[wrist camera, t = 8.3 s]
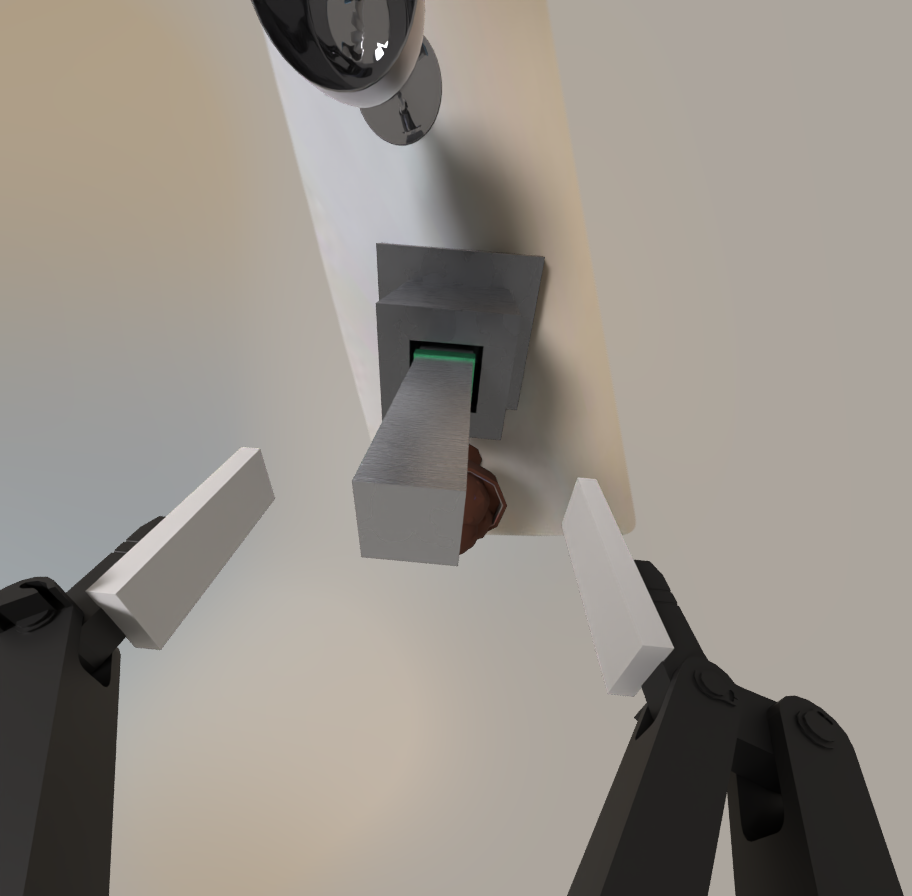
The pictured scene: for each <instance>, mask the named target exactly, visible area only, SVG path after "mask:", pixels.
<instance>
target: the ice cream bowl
mask: <svg viewBox="0 0 912 896" xmlns="http://www.w3.org/2000/svg"><path fill="white" fill-rule="evenodd" d="M481 460H482V458H481V456H480V454H479V451H478V449H476V448H475V447H473V446H471V445H470V444H469V447H468V466H467V486H466V498H465V507H464V516H463V525H462V534H461V543H460V552H459V555H460V554H463V553H464V552H466V551H467V550H468V549H470V548H471V547H473V546H474V544H475V543H476V541H477V539H479V538H483V537H484V535H485V534H486V533H487V531H489V530H491V529H493V528H495V527H497V526H498V524H499V522H500V520H501V518H502V515H503V513H504V511H505V509H506V507H507V504H506V502H505V499H504V497H503V494H502V492H501V489H500V487H499V484H498V482H497V479H496V477H495V476H494V475H493V474H492V473H491V472H490V471H488V470H486V469H485V468H483V467H481V466H479V465H480V463H481Z"/></svg>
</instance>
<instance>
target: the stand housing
mask: <svg viewBox="0 0 912 896" xmlns="http://www.w3.org/2000/svg"><path fill="white" fill-rule="evenodd" d="M376 248H377V268H378V287H379V301H378V302H377V303H376V315H377V333H378V351H379V369H380V387H381V405H382V421H383V419H384V417H385V415H386V414H387V412H388V410H389V408H390V406H391V404H392V402H393V400H394V398H395V396H396V394H397V392H398V390H399V388H400V386H401V384H402V382H403V380H404V378H405V376H406V374H407V373H408V371H409V369H410V367H411V365H412V363H413V361H414V352H415V351H416V349H420V347H421V345H422V343H423V341H429V342H441V343H452V344H464V345H474V350H473V354H475V367H474V377H473V387H472V396H471V408H470V428H469V437H472V438H484V439H495V440H501V435H502V429H503V423H504V417H505V411H506V409H512V410H517V406H518V401H519V395H520V390H521V384H522V379H523V373H524V368H525V363H526V357H527V352H528V346H529V341H530V335H531V330H532V325H533V319H534V314H535V308H536V303H537V297H538V292H539V287H540V281H541V276H542V270H543V265H544V259H545V257H543V256H534V255H522V254H509V253H497V252H485V251H473V250H461V249H449V248H437V247H424V246H412V245H400V244H388V243H376Z"/></svg>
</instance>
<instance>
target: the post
mask: <svg viewBox="0 0 912 896" xmlns="http://www.w3.org/2000/svg"><path fill="white" fill-rule="evenodd" d="M473 350H474V345H464V344H452V343H441V342H429V341H423V343H422V345H421V347H420V349H416V351H415V352H414V361H413V363H412V365H411V367H410V369H409V371H408V373H407V374H406V376H405V378H404V380H403V382H402V384H401V386H400V388H399V390H398V392H397V394H396V396H395V398H394V400H393V402H392V404H391V406H390V408H389V410H388V412H387V414H386V415H385V417H384V419H383V421H382V423H381V425H380V427H379V429H378V431H377V433H376V435H375V437H374V439H373V441H372V443H371V445H370V447H369V449H368V451H367V453H366V455H365V457H364V458H363V461H362V462H361V465H360V466H359V468H358V470H357V472H356V474H355V476H354V478H353V480H352V485H353V494H354V502H355V509H356V517H357V525H358V533H359V541H360V549H361V557H366V558H376V559H387V560H397V561H408V562H420V563H429V564H440V565H450V566H458V561H459V552H460V543H461V534H462V525H463V516H464V507H465V498H466V486H467V466H468V447H469V428H470V408H471V396H472V387H473V377H474V367H475V354H473Z"/></svg>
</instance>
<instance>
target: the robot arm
mask: <svg viewBox="0 0 912 896" xmlns="http://www.w3.org/2000/svg"><path fill="white" fill-rule="evenodd" d="M274 499H275V497H274V493H273V490H272V487H271V483H270V480H269V477H268V473H267V470H266V467H265V463H264V460H263V457H262V453H261V450H260V449H258V448H248V447H241V448H240V449H239V450H238V451H237V452H236V453H235V454H234V455H233V456H231V457H230V458H229V459H228V460H227V461H226V462H225V463H224V464H223V465H222V466H221V467H219V468H218V469H217V470H216V471H215V472H214V473H213V474H212V475H211V476H210V477H209V478H208V479H206V480H205V481H204V482H203V483H202V484H201V485H200V486H199V487H198V488H197V489H196V490H195V491H193V492H192V493H191V494H190V495H189V496H188V497H187V498H186V499H185V500H184V501H183V502H182V503H181V504H179V505H178V506H177V507H176V508H175V509H174V510H173V511H172V512H171V513H170V514H169V515H167V516H166V517H162V516H159V517H157V518H155V519H154V520H152V521H150V522H148V523H147V524H145V525H143V526H141V527H140V528H139V529H138V530H137V531H136V532H134V533H133V534H132V535H131V536H130V537H129V538H128V539H127V540H126V542H123V543H122V544H121V545H120V546H118V547H117V549H115V551H114V553H111V554H110V555H108V556H107V557H106V558H105V559H104V560H103V561H102V562H100V563H99V564H98V565H97V566H96V567H95V568H94V569H92V570H91V571H90V572H89V573H88V574H87V575H86V576H85V577H83V578H82V579H81V580H80V581H79V582H78V583H77V584H75V585H74V586H73V587H72V588H71V589H70V590H69V591H68V592H66V593H65V592H64V591H63V590H62V588H61V587H60V586H59V585H58V584H57V583H56V582H55V581H54V580H52V579H50V578H48V577H34V578H30V579H25V580H22V581H19V582H17V583H14V584H12V585H10V586H7V587H5V588H4V589H2V590H0V896H109V883H110V882H109V880H110V862H111V842H112V841H111V840H112V820H113V799H114V781H115V760H116V739H117V719H118V699H119V679H120V678H119V677H120V658H121V655H120V651H119V649H118V648H117V646H118V645H119V644H120V643H121V642H122V641H123V639H124V638H125V637H126V638H127V639H128V640H129V641H130V642H131V643H132V644H133V646H134V647H136V648H146V649H156V650H161V649H162V648H163V646H164V645H165V644H166V642H167V641H168V640H169V638H170V637H171V636H172V634H173V633H174V632H175V630H176V629H177V628H178V626H179V625H180V624H181V622H182V621H183V620H184V619H185V617H186V616H187V615H188V613H189V612H190V611H191V609H192V608H193V607H194V605H195V604H196V603H197V601H198V600H199V599H200V597H201V596H202V595H203V593H204V592H205V591H206V589H207V588H208V587H209V585H210V584H211V583H212V581H213V580H214V579H215V578H216V576H217V575H218V574H219V572H220V571H221V570H222V568H223V567H224V566H225V564H226V563H227V562H228V560H229V559H230V557H231V556H232V555H233V554H234V552H235V551H236V550H237V548H238V547H239V546H240V544H241V543H242V542H243V541H244V539H245V538H246V537H247V535H248V534H249V532H250V531H251V530H252V529H253V527H254V526H255V524H256V523H257V522H258V521H259V519H260V518H261V517H262V515H263V514H264V513H265V511H266V510H267V509H268V507H269V506H270V505H271V503H272V502H273V501H274ZM562 529H563V533H564V536H565V540H566V544H567V547H568V551H569V554H570V558H571V562H572V566H573V569H574V573H575V577H576V580H577V584H578V588H579V592H580V595H581V599H582V602H583V606H584V610H585V613H586V617H587V621H588V624H589V628H590V632H591V635H592V639H593V643H594V647H595V650H596V654H597V658H598V661H599V665H600V668H601V672H602V676H603V680H604V683H605V687H606V690H607V694H611V695H622V696H632V697H634V696H635V695H636V694H637V692H638V691H639V690H640V689H641V688H642V690H643V693H644V695H645V698H646V701H647V703H646V704H645V705H644V706H643V708H642V709H641V710H640V711H639V712H638V713H637V715H636V716H635V717H634V718H635V719H636V720H637V721H638V722H637V724H636V727H635V729H634V732H633V734H632V737H631V739H630V742H629V744H628V747H627V749H626V752H625V754H624V757H623V759H622V761H621V764H620V766H619V769H618V772H617V774H616V776H615V779H614V781H613V784H612V786H611V789H610V791H609V794H608V796H607V798H606V801H605V804H604V806H603V809H602V811H601V813H600V816H599V818H598V821H597V823H596V826H595V828H594V831H593V833H592V836H591V838H590V841H589V843H588V846H587V848H586V850H585V853H584V856H583V858H582V860H581V863H580V865H579V868H578V870H577V873H576V875H575V878H574V880H573V883H572V885H571V887H570V890H569V892H568V895H567V896H708V891H709V886H710V880H711V875H712V869H713V864H714V859H715V853H716V848H717V842H718V837H719V831H720V826H721V821H722V816H723V810H724V804H725V799H726V794H728V807H729V819H730V831H731V844H732V857H733V869H734V881H735V894H736V896H904V895H903V892H902V889H901V886H900V883H899V881H898V878H897V875H896V872H895V869H894V866H893V863H892V861H891V857H890V854H889V851H888V848H887V845H886V842H885V839H884V836H883V833H882V830H881V827H880V824H879V821H878V818H877V816H876V813H875V810H874V807H873V804H872V801H871V798H870V795H869V792H868V789H867V786H866V783H865V780H864V777H863V774H862V771H861V768H860V765H859V762H858V759H857V756H856V753H855V751H854V748H853V746H852V744H851V742H850V740H849V738H848V736H847V734H846V733H845V732H844V730H843V729H842V728H841V727H840V726H839V725H838V723H837V722H836V721H835V720H834V719H833V718H832V717H831V716H829V715H828V714H827V713H826V712H825V711H824V710H823V709H822V708H820V707H818V706H816V705H815V704H814V703H812V702H810V701H808V700H806V699H803V698H800V697H798V696H786V697H784V698H783V699H781V700H780V701H779V702H775V701H773V700H771V699H768V698H766V697H763V696H761V695H758V694H756V693H754V692H751V691H749V690H746V689H744V688H742V687H740V686H738V685H736V684H735V683H734V682H733V681H732V679H731V678H730V677H729V676H728V674H726V673H725V672H724V671H723V670H722V669H720V668H719V667H718V666H717V665H716V664H714V663H712V662H710V661H708V659H707V658H706V656H705V654H704V653H703V651H702V649H701V647H700V645H699V643H698V641H697V640H696V638H695V636H694V634H693V632H692V630H691V628H690V626H689V624H688V622H687V621H686V619H685V617H684V615H683V613H682V611H681V609H680V607H679V606H677V601H676V600H675V598H674V596H673V594H672V593H671V592H670V588H669V586H668V584H667V582H666V580H665V578H664V577H663V575H662V574H661V573H660V572H659V571H658V570H657V568H656V567H655V566H654V565H653V564H652V563H651V562H650V561H641V560H633V558H632V556H631V553H630V551H629V549H628V547H627V545H626V543H625V540H624V538H623V536H622V534H621V532H620V529H619V527H618V525H617V523H616V521H615V519H614V516H613V514H612V512H611V510H610V508H609V506H608V503H607V501H606V499H605V497H604V495H603V493H602V490H601V488H600V486H599V484H598V482H597V479H590V478H579V477H578V478H577V481H576V483H575V486H574V489H573V492H572V495H571V498H570V501H569V504H568V507H567V510H566V513H565V516H564V519H563V522H562Z"/></svg>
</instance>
